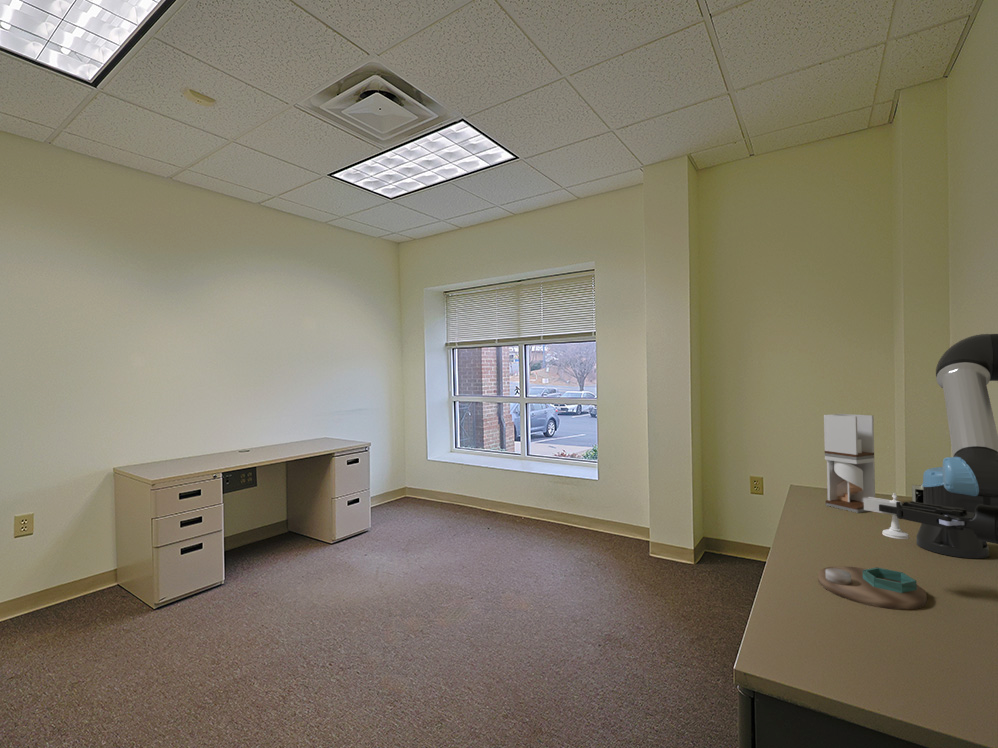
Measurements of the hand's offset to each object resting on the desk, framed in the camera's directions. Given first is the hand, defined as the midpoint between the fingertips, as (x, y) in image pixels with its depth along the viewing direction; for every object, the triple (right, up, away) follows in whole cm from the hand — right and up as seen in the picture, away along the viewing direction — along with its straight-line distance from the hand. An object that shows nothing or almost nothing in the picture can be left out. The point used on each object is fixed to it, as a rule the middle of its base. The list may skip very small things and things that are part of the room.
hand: (866, 503), depth 119 cm
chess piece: (+3, -7, -5) cm, 9 cm away
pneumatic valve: (+57, -19, +49) cm, 78 cm away
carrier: (-3, -19, -5) cm, 20 cm away
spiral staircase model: (+43, -19, +65) cm, 80 cm away
